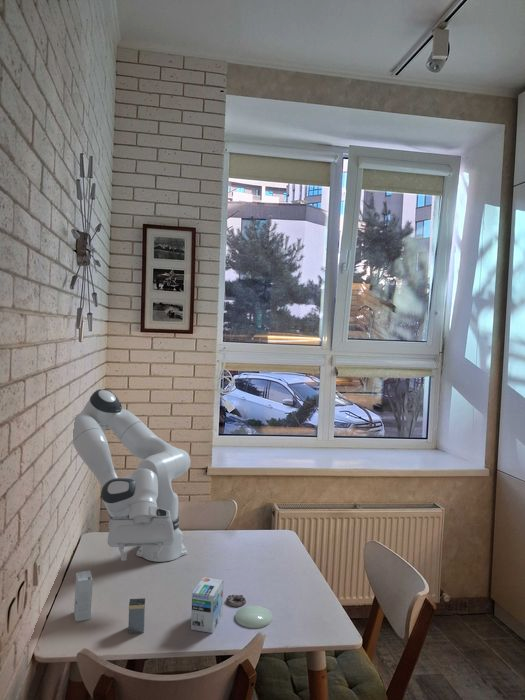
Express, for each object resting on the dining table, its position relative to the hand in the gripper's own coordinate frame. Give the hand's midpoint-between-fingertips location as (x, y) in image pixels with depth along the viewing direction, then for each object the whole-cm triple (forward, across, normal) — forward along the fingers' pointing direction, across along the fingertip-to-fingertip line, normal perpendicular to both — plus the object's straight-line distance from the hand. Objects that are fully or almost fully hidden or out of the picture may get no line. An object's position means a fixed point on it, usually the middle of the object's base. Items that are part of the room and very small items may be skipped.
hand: (139, 559), depth 161 cm
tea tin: (+19, 0, +2) cm, 19 cm away
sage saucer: (+17, +34, +5) cm, 39 cm away
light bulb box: (+18, +20, +4) cm, 27 cm away
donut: (+11, +30, +12) cm, 34 cm away
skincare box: (+13, -16, +9) cm, 22 cm away
